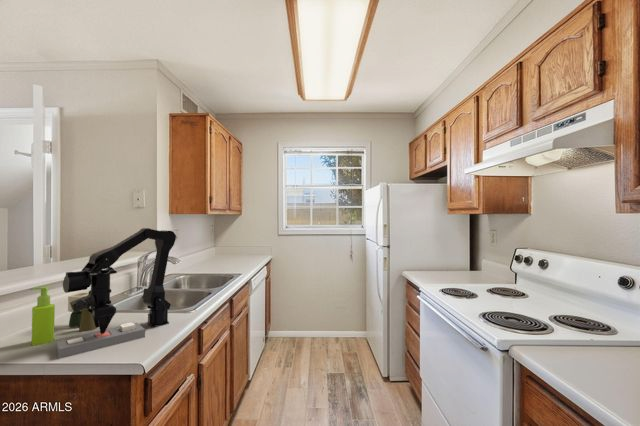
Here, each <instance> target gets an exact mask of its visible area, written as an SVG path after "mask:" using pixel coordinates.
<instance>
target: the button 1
mask: <svg viewBox="0 0 640 426" xmlns="http://www.w3.org/2000/svg"><path fill="white" fill-rule="evenodd" d="M81 341H84V339H83V338H82V337H80V338H76V339H71V340H67V345H68V344H73V343H77V342H81Z"/></svg>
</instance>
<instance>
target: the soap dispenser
mask: <svg viewBox="0 0 640 426" xmlns="http://www.w3.org/2000/svg"><path fill="white" fill-rule="evenodd" d="M50 289H51V286H37V287H33V288H29V290H30V291H34V290H40V295H39V296H37V297H36V298H37V299H36V300H37V301H36V303H37V305H35V306H33V307H32V308H31V346H39V345H40V346H41V345H46V344H49V343H51V342H53V341H54V340H55V307H56V305H55V304H53V303H51V295H49V294H48V290H50Z"/></svg>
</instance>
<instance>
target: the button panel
mask: <svg viewBox="0 0 640 426" xmlns="http://www.w3.org/2000/svg"><path fill="white" fill-rule="evenodd" d="M134 324H135V329H134V330H129V331H125V332H121V331H120V326H115V327H111V328H107V329H106V331H105V332H109V333H110V334H111V335H107V336H103V337H99V338H96V337H95V334H99V333H100V330H98V331H93V332H88V333H85V334H79V335H74V336H71V337H66V338H61V339H60V338H59V339H56V341H55V350H56V355H57V357H58V359H59V360H60V359H64V358H68V357H72V356H76V355H80V354H84V353H87V352H88V353H89V352H92V351H96V350H99V349H103V348H107V347H112V346H115V345H116V346H117V345H119V344H123V343H127V342H132V341H136V340H139V339H143V338H146V328H144V327H143V326H142V325H140V323H138V322H134ZM80 337H82V338H83V339H84V341H81V342H77V343H73V344H68V345H67V340H71V339H76V338H80Z"/></svg>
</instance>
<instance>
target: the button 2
mask: <svg viewBox="0 0 640 426" xmlns="http://www.w3.org/2000/svg"><path fill="white" fill-rule="evenodd" d="M134 323H135V322H134ZM134 323H133V322H127V323H122V324H120V325H119V327H120V331H121V332H125V331H129V330H134V329H135V324H134Z"/></svg>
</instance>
